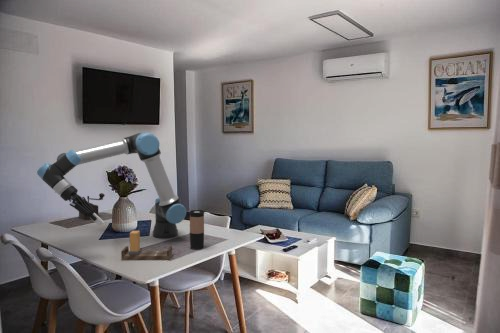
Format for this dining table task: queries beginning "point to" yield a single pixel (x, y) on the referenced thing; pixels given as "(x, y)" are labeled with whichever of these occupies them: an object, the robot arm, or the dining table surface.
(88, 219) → the brown manual coffee grinder
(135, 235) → the fader knob
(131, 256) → the fader rail
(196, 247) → the travel mug
